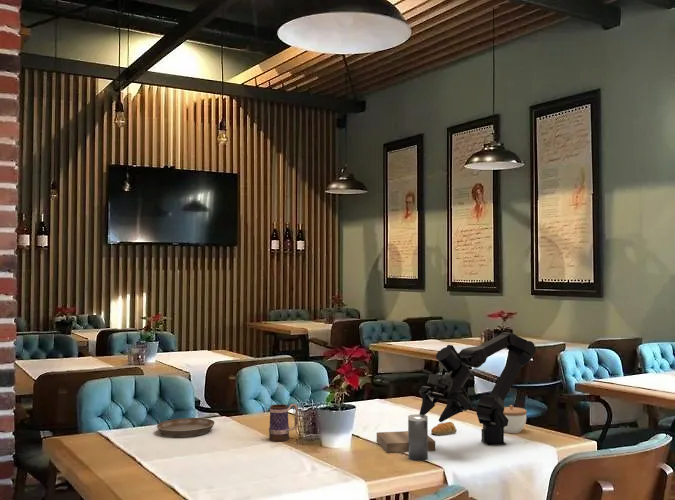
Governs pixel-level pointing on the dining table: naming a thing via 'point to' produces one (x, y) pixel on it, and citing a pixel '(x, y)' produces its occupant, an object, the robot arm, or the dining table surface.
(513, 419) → the lidded jar
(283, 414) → the mug
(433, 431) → the pastry
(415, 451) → the canister
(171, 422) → the plant saucer
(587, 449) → the dining table surface
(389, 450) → the block
